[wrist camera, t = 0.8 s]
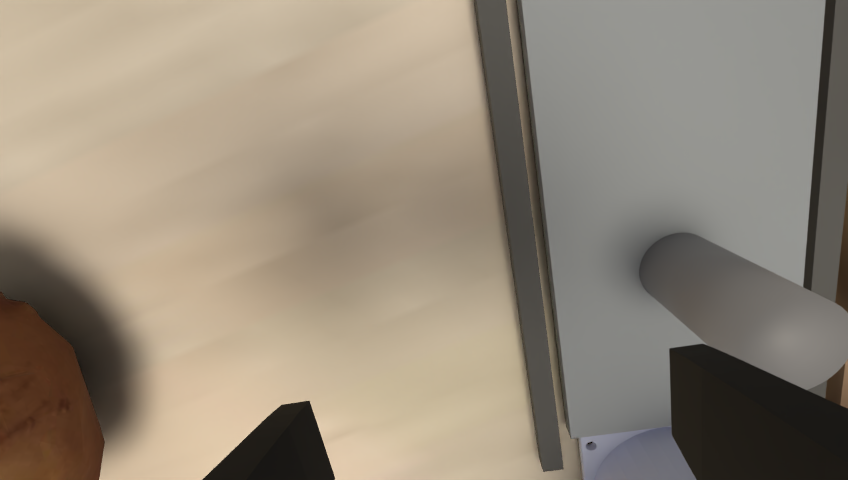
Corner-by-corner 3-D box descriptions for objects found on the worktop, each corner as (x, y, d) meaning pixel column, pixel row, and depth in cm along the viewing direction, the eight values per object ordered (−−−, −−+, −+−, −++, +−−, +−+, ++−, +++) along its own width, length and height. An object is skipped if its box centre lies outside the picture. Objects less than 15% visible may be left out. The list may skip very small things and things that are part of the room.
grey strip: (779, 398, 20) (945, 540, 13) (566, 426, 21) (624, 572, 14) (825, -291, 12) (1241, -722, 6) (493, -201, 13) (543, -490, 7)
